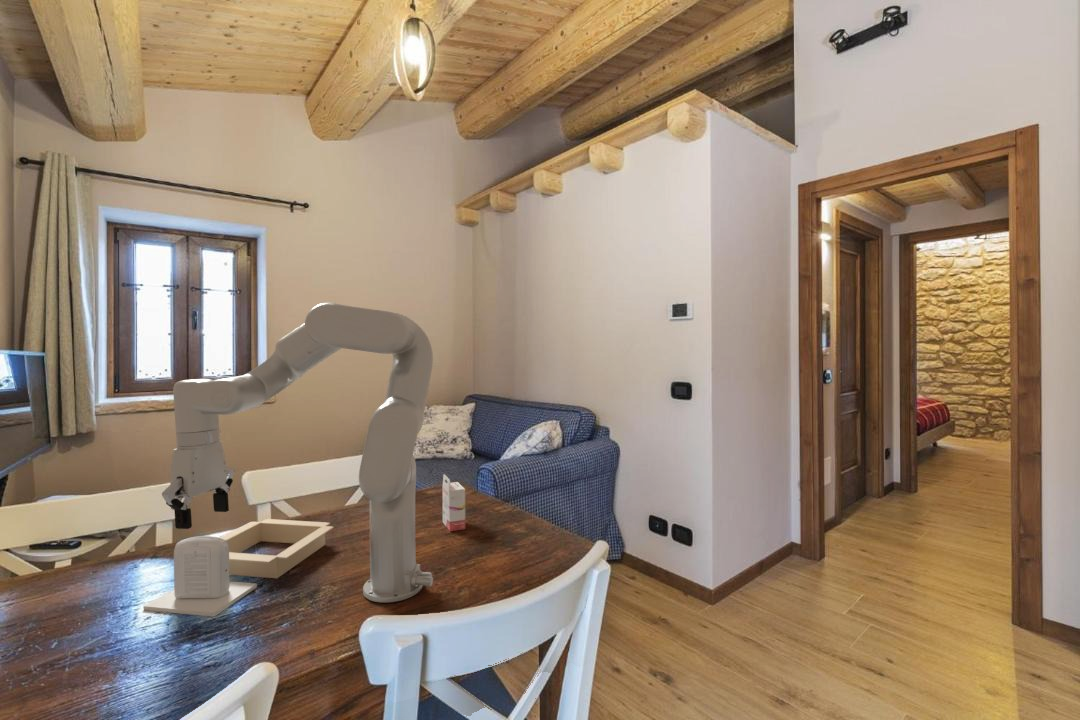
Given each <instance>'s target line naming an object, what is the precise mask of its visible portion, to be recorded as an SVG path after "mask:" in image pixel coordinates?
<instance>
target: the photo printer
mask: <svg viewBox="0 0 1080 720" xmlns="http://www.w3.org/2000/svg"><path fill="white" fill-rule="evenodd" d="M173 574H174V575H173V579H174V580H173V583H174V587H173V589H174V595H175V597H176V598H217V597H223V596H225V595H226V594H227V593H228V592H229V586H230V579H231V578H230V575H229V544H228V541H227V540H224V539H222V538H219V537H217V536H211V535H199V536H198V535H197V536H192V537H191V536H190V537H187V538H185V539H181V540H180V541H178V542H176V544H175V547H174V550H173Z"/></svg>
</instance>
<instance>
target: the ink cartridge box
mask: <svg viewBox="0 0 1080 720" xmlns="http://www.w3.org/2000/svg"><path fill="white" fill-rule="evenodd" d="M442 475H443V477H442V523H443V525H444V526H445V527H446V529H448V531H449V532H454V531H461V530H465V529H466V488H465V487H464V486H463V485H461V484H460V482H459V481H455V482H451V479H450V478H449V477H448V476H447V474H445V473H443V474H442Z"/></svg>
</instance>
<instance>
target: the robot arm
mask: <svg viewBox="0 0 1080 720" xmlns="http://www.w3.org/2000/svg"><path fill="white" fill-rule="evenodd" d="M274 347H275V348H274V352H273V353H272V355H271V356H269V358H267V359H266V360H265V361H263V362H262V363H260V364H259V365H257V366H256V367H255V368H253V369H251V370H250V371H247V373H245V374H243V375H238V376H237V375H236V376H230V377H225V378H219V379H214V380H213V379H212V378H211V379H210V378H196V379H195V378H193V379H184V380H178V381H177V382H175V384H174V385H173V389H172V391H173V408H174V421H175V422H174V424H175V425H174V426H175V439H176V440H175V441H176V448H173V451H172V456H171V463H170V475H169V476H170V477H169V478H170V479H169V480H170V485H168V487H166V488H165V490H163V491H162V492H161V496H162V498H163V500H164V501H165V505H167V506H168V507H170V509H171V510H172V511H173V512H174V524H175V529H177V530H188V529H191V528H192V526H193V524H192V511H191V510H192V509H191V507H190V504H191V502H192V500H193V498H195V497H199V496H200V495H204V494H206V493H208V492H212V491H214V492H213V494H212V497H213V498H212V500H213V501H212V502H213V511H214V512H215V513H218V512H219V513H227V512H228V511H229V510H230V508H229V505H230V504H229V493H230V491H231V485H232V484H233V482H234V481H233V479H234V475H235V473H236V472H235V469H234V468H231V467H228V466H227V464H226V463H227V462H226V456H225V453H224V452H225V451H224V447H223V444H222V441H221V435H220V434H221V429H220V418H219V417H220V416H219V415H221V416H228V415H229V416H230V415H234V414H235V415H236V414H239V413H242V412H244V411H248V410H251V409H255V408H258V407H259V406H261V405H263V404H264V403H266V402H268V401H269V400H271V399H272V398H273V397H275V396H276V395H278V394H280V393H281V392H282V391H284V390H286V388H288V387H289V386H291V385H292V384H293V383H294V382H295V381H297V380H298V379H299V378H301V377H302V376H303V375H304V374H306V373H307V372H308V371H310V370H311V369H314V367H316V366H317V365H319V364H320V363H322V362H323V361H324V360H325V359H328V358H329V357H330V356H332V355H333V354H335V353H337V352H338V351H340V350H342V349H345V350H353V351H361V352H368V353H374V354H382V355H386V354H387V355H389V354H390V355H392V358H393V359H392V361H393V362H392V366H391V369H390V373H389V376H388V377H389V379H388V386H387V389H386V394H385V397H384V401H383V403H382V404H381V405H380V406H379V407H377V408H376V409H375V411H374V413H373V414H372V416H371V418H370V421H369V424H368V428H367V432H366V436H365V442H364V445H363V446H364V447H363V450H362V451H363V452H362V456H361V461H360V465H359V471H358V484H359V485H358V486H359V488H360V490H361V492H362V493H363V495H364V496H365V497H366V498H367V499H369V564H370V565H369V571H370V576H369V579H368V580H366V581H365V583H364V585H362V593H363V596H364V597H365V598H366V599H367V600H369V601H371V602H375V603H395V602H400V601H405V600H408V599H409V598H411V597H413V596H416V595H417V594H419V592H421V590H422V589H423V587H432V586H433V584H434V583H433V582H434V577H433V576H432V575H433V574H432V572H430V571H425V572H424V571H422V570H421V564H420V563H417V562H416V559H417V558H416V488H417V487H416V484H417V464H416V458H415V456H414V451H415V446H416V443H417V442H416V441H417V437H418V435H419V432H420V431H421V430H422V427H423V425H424V416H425V409H426V406H427V405H426V403H427V398H428V395H429V394H428V393H429V388H430V381H431V376H432V370H433V360H434V357H433V349H432V344H431V342H430V339H429V338H428V335H427V334H426V333H425V331H424V330H423V328H421V326H420V325H418V323H416V322H415V321H414V320H412V319H411V318H410V317H408V316H407V315H403V314H402V313H397V312H394V311H393V312H392V311H387V310H379V309H374V308H373V309H372V308H364V307H356V306H351V305H345V304H339V303H336V302H323V303H319V304H317V305H315V306H314V307H312V308H311V309H310V310H309V311H308V313H307V314H306V316H305V319H304V323H302V324H300V325H299V326H298V327H296V328H295V329H294V330H292V331H290V332H289V333H286V335H284V336H283V337H281V338H280V339H278V340H277V341H276V344H275V346H274ZM189 507H190V508H189Z"/></svg>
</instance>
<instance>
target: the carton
mask: <svg viewBox="0 0 1080 720" xmlns="http://www.w3.org/2000/svg"><path fill="white" fill-rule="evenodd" d="M330 524H331V522H325V521H323V522H322V521H309V520H306V521H305V520H295V519H293V520H291V519H279V518H276V519H275V518H274V519H273V518H265V519H263V520H261V521H249V522H248V523H246V524H244V525H241V526H240V527H237V528H235V529H234V530H231V531H230V532H227V533H225V534H224V535H221V536H220V537H218V538H222V539H224V540H227V541H228V544H229V576H230V575H231V576H244V577H253V578H266V579H267V578H268V579H279V578H280V577H281V576H282V575H284V574H286V573H287V572H288V571H290V570H291V569H292V568H294V567H295V566H298V565H299V564H300V563H301V562H303V561H304V560H305V559H307V558H308V557H310V556H311V555H312V554H314V553H315V552H317V551H318V550H319V549H321V548H323V547H324V546H325V545H326V534H327V533H328V532H330V531H331V530H332V529H334V528H335V527H334V526H331V525H330ZM329 525H330V526H329ZM260 542H266V543H284V544H292V545H291V546H289V547H286V549H284V550H283V551H281V552H279V553H278V554H276V555H272V554H271V555H270V554H259V553H258V554H257V553H243V552H244V551H246V550H247V549H249V548H251V547H253V546H255V545H256V544H258V543H260Z"/></svg>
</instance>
